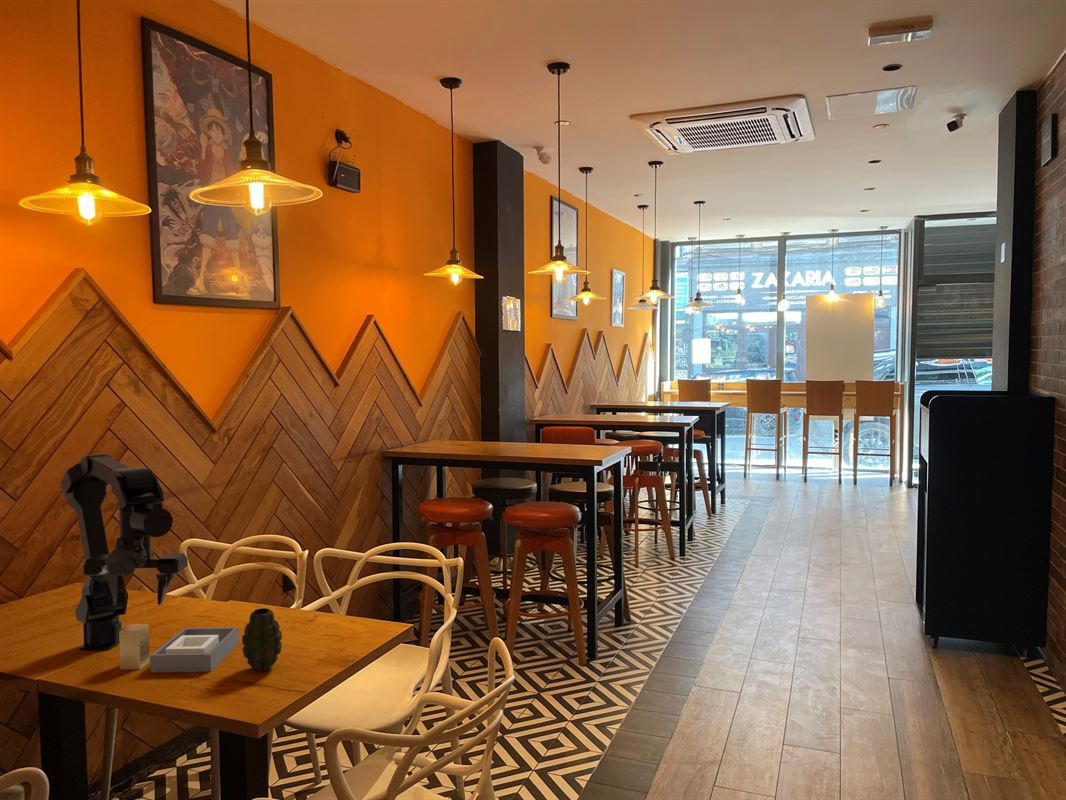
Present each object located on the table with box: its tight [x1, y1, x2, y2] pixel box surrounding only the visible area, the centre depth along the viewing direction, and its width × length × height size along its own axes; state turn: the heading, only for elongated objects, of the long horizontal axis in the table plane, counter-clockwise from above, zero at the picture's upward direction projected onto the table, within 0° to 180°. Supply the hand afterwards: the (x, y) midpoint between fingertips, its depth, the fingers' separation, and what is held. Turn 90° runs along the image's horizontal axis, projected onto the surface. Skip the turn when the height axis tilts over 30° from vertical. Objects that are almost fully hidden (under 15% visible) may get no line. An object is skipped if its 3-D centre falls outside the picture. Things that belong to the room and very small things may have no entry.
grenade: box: [241, 607, 283, 672], centre depth 153 cm, size 8×8×12 cm
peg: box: [119, 623, 150, 670], centre depth 155 cm, size 4×4×8 cm
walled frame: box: [149, 626, 240, 674], centre depth 159 cm, size 12×16×4 cm
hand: (136, 604), depth 155 cm, fingers open, 9 cm apart
